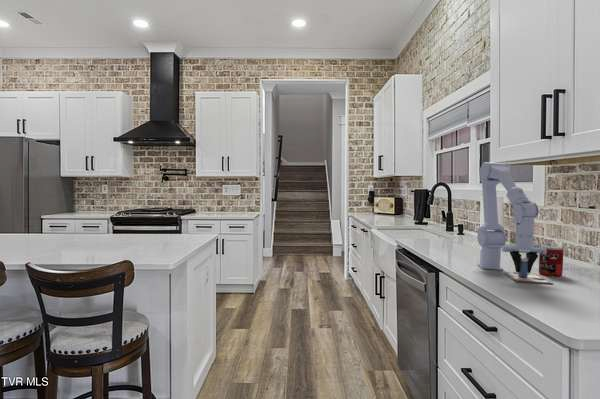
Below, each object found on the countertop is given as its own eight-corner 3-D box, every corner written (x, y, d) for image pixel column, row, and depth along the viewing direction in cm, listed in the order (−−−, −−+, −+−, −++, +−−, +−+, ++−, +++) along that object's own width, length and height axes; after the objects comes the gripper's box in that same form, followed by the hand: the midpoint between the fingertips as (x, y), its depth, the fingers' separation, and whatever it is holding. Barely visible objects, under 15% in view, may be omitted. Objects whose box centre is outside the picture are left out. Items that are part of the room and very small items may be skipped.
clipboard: (503, 273, 154) (503, 271, 154) (537, 275, 152) (537, 273, 152) (516, 282, 140) (516, 279, 140) (553, 284, 138) (553, 281, 138)
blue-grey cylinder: (516, 275, 147) (517, 256, 146) (525, 275, 146) (526, 257, 146) (519, 277, 144) (520, 258, 143) (528, 278, 143) (529, 258, 143)
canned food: (534, 273, 156) (535, 245, 156) (548, 272, 159) (549, 245, 159) (552, 277, 149) (553, 248, 149) (567, 276, 152) (568, 247, 152)
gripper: (506, 235, 142) (504, 273, 142) (550, 237, 139) (549, 275, 140) (500, 233, 149) (499, 269, 149) (542, 235, 146) (541, 271, 146)
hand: (522, 272), depth 145 cm, fingers closed on blue-grey cylinder, 3 cm apart
